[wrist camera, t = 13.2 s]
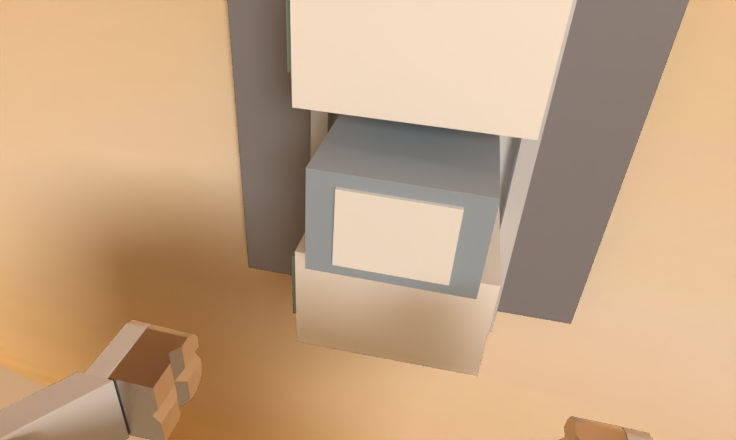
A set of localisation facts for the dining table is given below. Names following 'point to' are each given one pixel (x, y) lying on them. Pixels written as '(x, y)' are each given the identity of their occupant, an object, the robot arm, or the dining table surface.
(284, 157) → the rail plate
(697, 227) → the dining table surface
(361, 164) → the block
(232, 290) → the dining table surface
